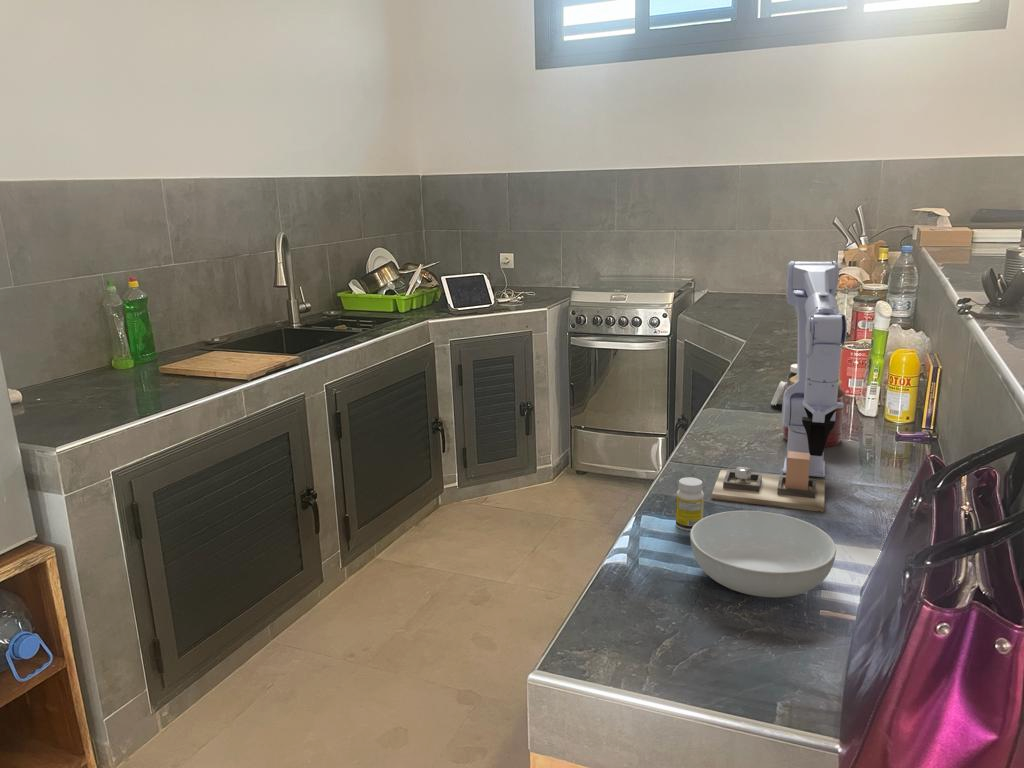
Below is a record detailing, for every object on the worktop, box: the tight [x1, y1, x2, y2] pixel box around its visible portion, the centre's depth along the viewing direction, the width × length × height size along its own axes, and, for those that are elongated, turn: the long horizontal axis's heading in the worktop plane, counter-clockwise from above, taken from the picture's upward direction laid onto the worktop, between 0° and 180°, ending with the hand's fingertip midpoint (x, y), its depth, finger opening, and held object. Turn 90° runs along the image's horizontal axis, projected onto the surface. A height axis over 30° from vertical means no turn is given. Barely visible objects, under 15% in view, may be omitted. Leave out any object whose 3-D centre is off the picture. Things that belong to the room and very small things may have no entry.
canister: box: [781, 375, 846, 448], centre depth 181 cm, size 13×13×18 cm
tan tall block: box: [785, 451, 810, 490], centre depth 150 cm, size 4×4×7 cm
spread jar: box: [770, 363, 797, 407], centre depth 208 cm, size 12×11×12 cm
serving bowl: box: [689, 510, 837, 598], centre depth 118 cm, size 21×21×7 cm
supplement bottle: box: [675, 476, 705, 532], centre depth 137 cm, size 5×5×8 cm
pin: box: [734, 466, 752, 484], centre depth 154 cm, size 3×3×3 cm
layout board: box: [711, 469, 826, 513], centre depth 152 cm, size 14×20×2 cm
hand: (816, 449), depth 148 cm, fingers open, 7 cm apart
